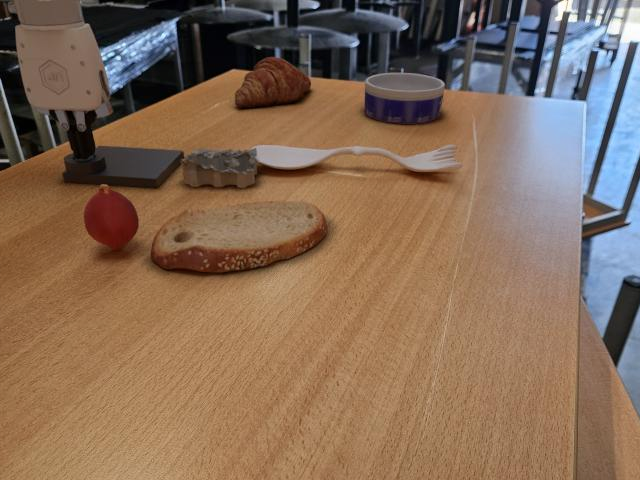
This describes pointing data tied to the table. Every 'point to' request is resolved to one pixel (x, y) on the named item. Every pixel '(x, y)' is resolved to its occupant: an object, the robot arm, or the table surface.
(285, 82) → the pastry
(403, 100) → the dog bowl
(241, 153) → the egg carton
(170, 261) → the bread slice
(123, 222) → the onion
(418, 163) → the white plastic spork
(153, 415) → the table surface
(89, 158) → the button
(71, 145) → the robot arm
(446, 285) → the table surface
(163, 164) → the scale
